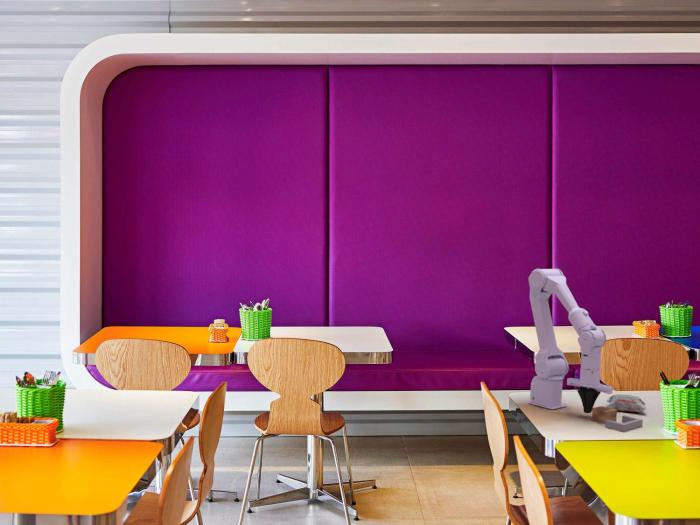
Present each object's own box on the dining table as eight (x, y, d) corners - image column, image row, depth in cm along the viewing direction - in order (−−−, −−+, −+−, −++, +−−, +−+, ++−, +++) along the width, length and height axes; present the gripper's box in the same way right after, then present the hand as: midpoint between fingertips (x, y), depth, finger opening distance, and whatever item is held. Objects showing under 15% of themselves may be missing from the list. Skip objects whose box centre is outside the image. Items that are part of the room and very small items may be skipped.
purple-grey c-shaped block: (604, 426, 223) (605, 420, 223) (623, 421, 230) (624, 415, 230) (623, 431, 218) (623, 425, 218) (642, 426, 225) (642, 419, 225)
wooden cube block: (591, 421, 229) (592, 408, 229) (601, 418, 233) (602, 405, 232) (606, 425, 226) (607, 412, 225) (616, 422, 229) (616, 409, 228)
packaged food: (645, 416, 237) (646, 400, 237) (605, 411, 241) (606, 396, 241) (645, 410, 245) (646, 395, 245) (606, 405, 250) (607, 390, 249)
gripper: (619, 371, 229) (616, 416, 230) (577, 363, 240) (574, 405, 241) (606, 374, 225) (603, 419, 226) (564, 365, 236) (561, 408, 237)
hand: (587, 412), depth 233 cm, fingers closed
